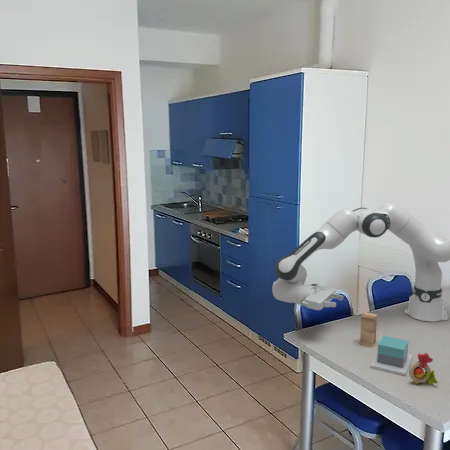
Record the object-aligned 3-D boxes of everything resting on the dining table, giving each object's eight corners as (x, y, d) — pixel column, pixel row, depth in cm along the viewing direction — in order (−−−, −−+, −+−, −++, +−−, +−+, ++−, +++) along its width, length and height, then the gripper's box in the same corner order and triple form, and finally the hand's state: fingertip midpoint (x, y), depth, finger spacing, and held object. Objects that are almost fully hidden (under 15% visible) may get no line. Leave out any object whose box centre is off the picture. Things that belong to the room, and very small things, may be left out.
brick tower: (380, 350, 184) (381, 331, 182) (413, 357, 178) (414, 337, 176) (370, 367, 170) (371, 347, 169) (405, 375, 164) (406, 354, 163)
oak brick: (363, 339, 193) (364, 312, 191) (375, 342, 191) (377, 314, 189) (360, 344, 189) (361, 316, 187) (372, 347, 187) (374, 318, 184)
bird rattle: (420, 394, 156) (444, 382, 157) (409, 366, 154) (434, 355, 154) (411, 384, 163) (434, 373, 163) (400, 358, 160) (424, 346, 160)
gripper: (298, 295, 191) (331, 301, 184) (316, 282, 208) (346, 287, 201) (298, 310, 192) (331, 316, 185) (315, 295, 209) (346, 301, 202)
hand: (339, 301), depth 193 cm, fingers open, 8 cm apart
